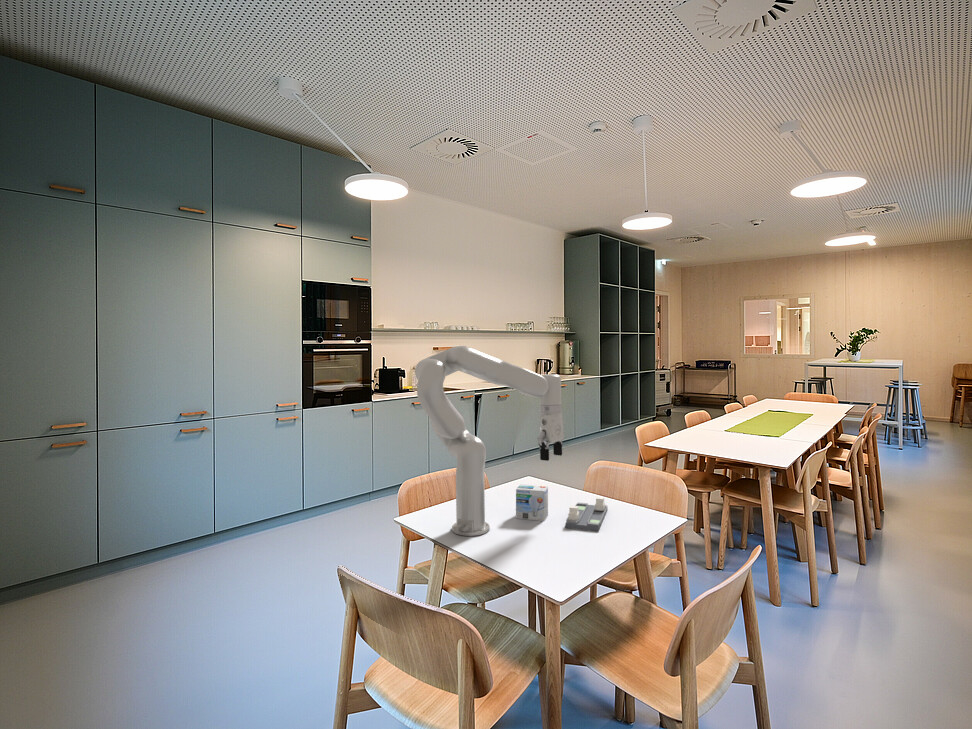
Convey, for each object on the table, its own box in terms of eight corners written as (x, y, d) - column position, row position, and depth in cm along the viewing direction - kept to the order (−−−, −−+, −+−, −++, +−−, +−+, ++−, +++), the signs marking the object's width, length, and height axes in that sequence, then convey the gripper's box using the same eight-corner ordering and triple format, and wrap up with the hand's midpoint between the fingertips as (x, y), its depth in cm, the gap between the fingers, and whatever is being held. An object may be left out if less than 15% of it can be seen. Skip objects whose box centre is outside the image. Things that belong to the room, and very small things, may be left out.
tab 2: (603, 510, 180) (603, 499, 179) (595, 510, 181) (595, 499, 181) (605, 507, 183) (605, 496, 183) (596, 506, 184) (596, 496, 184)
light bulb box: (515, 518, 178) (515, 488, 178) (519, 513, 184) (519, 483, 184) (545, 521, 175) (545, 490, 175) (548, 515, 181) (548, 485, 181)
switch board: (599, 531, 164) (599, 525, 164) (565, 527, 168) (565, 521, 168) (607, 510, 186) (607, 504, 186) (577, 507, 190) (577, 502, 190)
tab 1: (577, 520, 169) (577, 509, 169) (568, 519, 170) (568, 508, 170) (579, 517, 173) (579, 505, 173) (570, 516, 174) (570, 504, 174)
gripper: (548, 412, 167) (549, 463, 168) (571, 407, 181) (571, 454, 182) (528, 411, 172) (529, 461, 172) (552, 406, 186) (553, 452, 186)
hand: (551, 457), depth 177 cm, fingers open, 9 cm apart
